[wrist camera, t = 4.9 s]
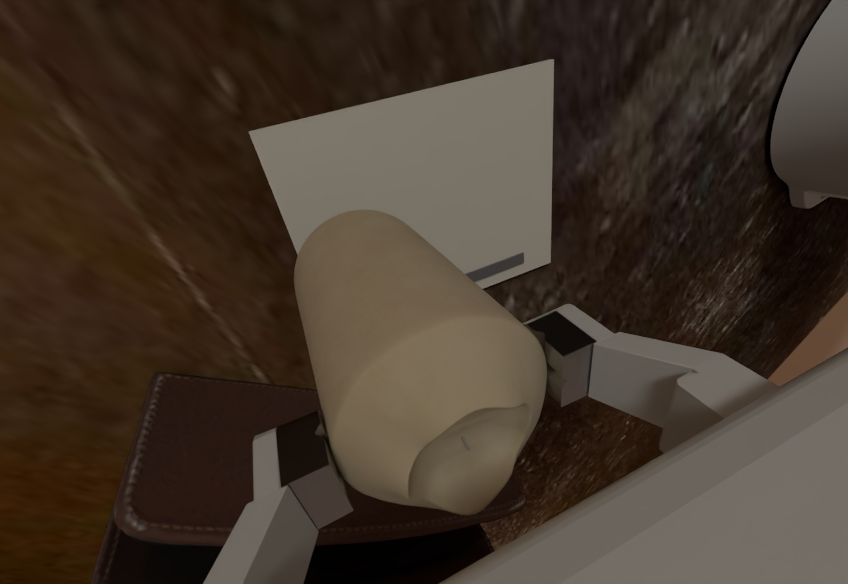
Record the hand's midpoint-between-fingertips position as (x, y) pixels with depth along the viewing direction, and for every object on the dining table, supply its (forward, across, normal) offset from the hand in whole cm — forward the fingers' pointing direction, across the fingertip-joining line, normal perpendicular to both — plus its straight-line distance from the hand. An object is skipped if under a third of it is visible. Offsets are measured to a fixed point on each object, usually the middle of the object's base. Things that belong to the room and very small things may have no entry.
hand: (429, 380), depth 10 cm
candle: (+8, 0, 0) cm, 8 cm away
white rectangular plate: (+10, -5, 0) cm, 12 cm away
